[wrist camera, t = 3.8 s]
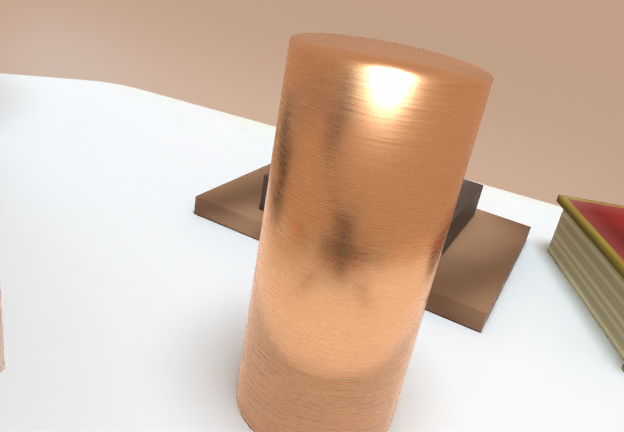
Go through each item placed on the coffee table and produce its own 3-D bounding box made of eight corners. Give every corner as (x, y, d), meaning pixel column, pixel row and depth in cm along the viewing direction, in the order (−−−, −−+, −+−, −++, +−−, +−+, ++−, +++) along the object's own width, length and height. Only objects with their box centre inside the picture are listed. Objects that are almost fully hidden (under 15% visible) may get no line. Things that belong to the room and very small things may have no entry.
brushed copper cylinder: (204, 407, 20) (249, 38, 15) (286, 330, 24) (343, 29, 19) (353, 490, 18) (463, 96, 13) (412, 390, 22) (511, 71, 17)
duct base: (194, 213, 33) (199, 161, 31) (300, 162, 43) (307, 122, 41) (480, 332, 27) (500, 274, 25) (525, 241, 37) (541, 197, 35)
